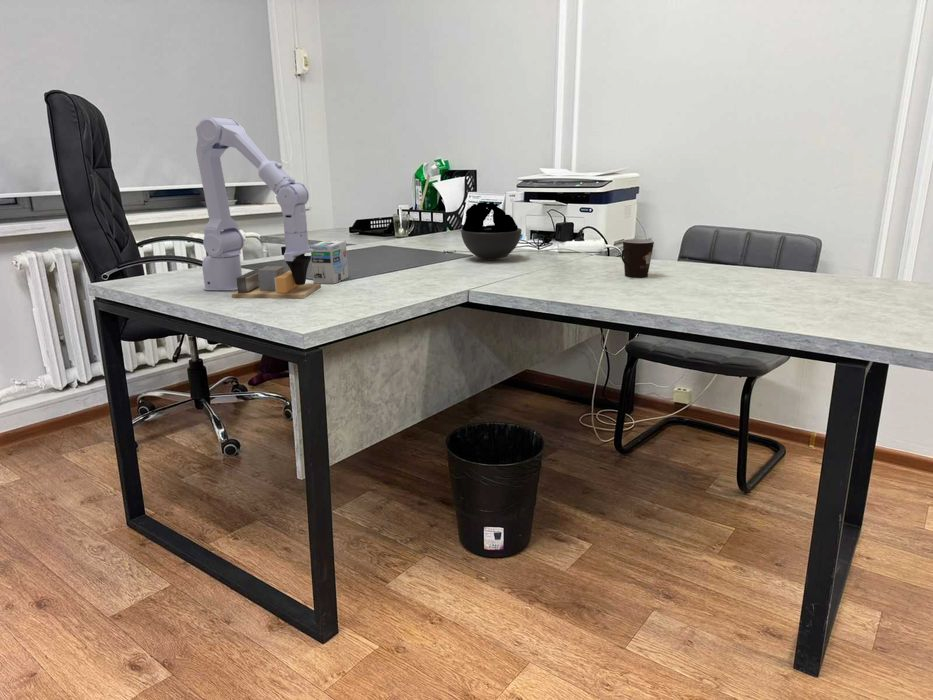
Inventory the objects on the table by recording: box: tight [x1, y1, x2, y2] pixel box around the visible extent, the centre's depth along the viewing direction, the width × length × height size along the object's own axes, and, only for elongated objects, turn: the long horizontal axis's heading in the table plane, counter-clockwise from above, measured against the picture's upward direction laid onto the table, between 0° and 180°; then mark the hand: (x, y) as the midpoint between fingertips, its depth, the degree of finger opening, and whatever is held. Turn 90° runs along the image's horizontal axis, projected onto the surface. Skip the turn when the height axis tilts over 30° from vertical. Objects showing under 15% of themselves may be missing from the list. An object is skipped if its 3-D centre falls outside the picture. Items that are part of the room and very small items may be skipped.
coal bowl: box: [460, 201, 522, 261], centre depth 217 cm, size 20×20×19 cm
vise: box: [230, 268, 322, 299], centre depth 173 cm, size 19×14×5 cm
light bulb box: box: [310, 240, 349, 285], centre depth 187 cm, size 11×7×11 cm, turn 168°
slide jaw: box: [274, 270, 299, 293], centre depth 172 cm, size 3×12×4 cm, turn 175°
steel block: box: [258, 265, 286, 291], centre depth 172 cm, size 5×6×6 cm
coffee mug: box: [620, 238, 655, 279], centre depth 187 cm, size 12×9×10 cm
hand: (300, 284), depth 172 cm, fingers closed, pressing on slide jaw
